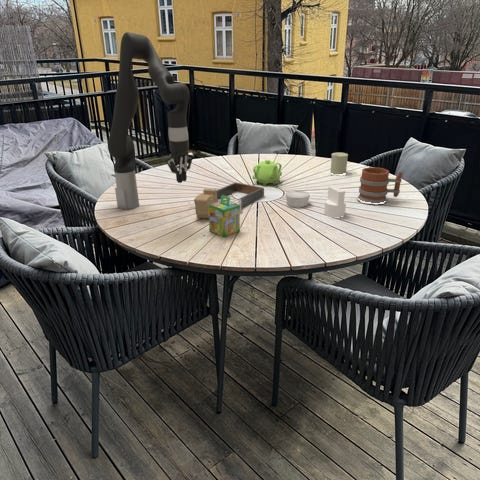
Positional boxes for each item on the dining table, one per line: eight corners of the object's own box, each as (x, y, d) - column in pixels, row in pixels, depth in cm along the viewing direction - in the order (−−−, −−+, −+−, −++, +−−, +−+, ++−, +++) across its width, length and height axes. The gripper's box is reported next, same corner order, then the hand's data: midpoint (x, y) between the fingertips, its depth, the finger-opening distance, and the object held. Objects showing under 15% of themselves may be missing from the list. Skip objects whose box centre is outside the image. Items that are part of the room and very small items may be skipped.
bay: (240, 213, 189) (240, 203, 187) (199, 203, 201) (198, 194, 199) (269, 197, 208) (270, 188, 206) (230, 189, 220) (230, 181, 218)
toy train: (218, 208, 196) (217, 187, 191) (207, 221, 181) (206, 199, 176) (207, 207, 197) (206, 186, 193) (195, 220, 182) (193, 198, 178)
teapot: (287, 181, 232) (288, 159, 226) (276, 188, 221) (277, 165, 215) (261, 177, 239) (261, 155, 234) (249, 184, 228) (249, 161, 222)
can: (326, 173, 246) (328, 152, 240) (339, 171, 249) (341, 150, 244) (336, 177, 238) (338, 156, 233) (349, 174, 241) (351, 154, 236)
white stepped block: (320, 212, 188) (322, 187, 183) (337, 209, 191) (339, 184, 186) (331, 219, 181) (333, 193, 175) (348, 216, 183) (351, 190, 178)
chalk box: (208, 231, 171) (207, 196, 165) (225, 224, 177) (224, 191, 171) (224, 237, 165) (223, 202, 159) (240, 231, 171) (240, 196, 165)
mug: (355, 195, 209) (358, 165, 202) (395, 196, 206) (399, 166, 200) (358, 205, 196) (362, 174, 190) (401, 206, 194) (406, 174, 188)
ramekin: (310, 201, 202) (311, 191, 200) (307, 209, 192) (308, 198, 190) (287, 199, 205) (288, 189, 203) (283, 207, 195) (283, 196, 193)
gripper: (173, 142, 155) (177, 187, 162) (197, 136, 165) (199, 178, 173) (158, 140, 159) (163, 184, 166) (183, 134, 169) (186, 176, 177)
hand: (181, 181), depth 170 cm, fingers closed
